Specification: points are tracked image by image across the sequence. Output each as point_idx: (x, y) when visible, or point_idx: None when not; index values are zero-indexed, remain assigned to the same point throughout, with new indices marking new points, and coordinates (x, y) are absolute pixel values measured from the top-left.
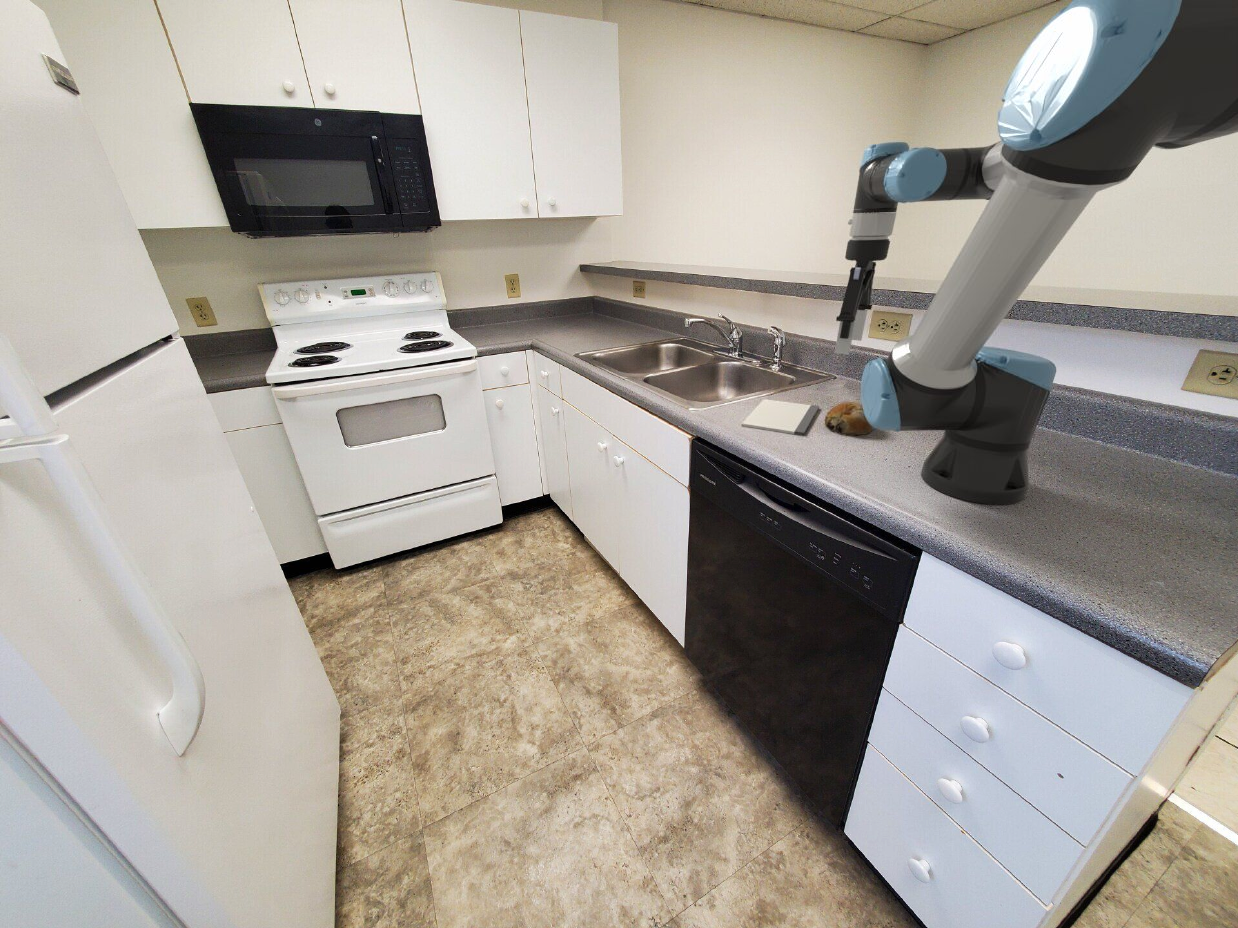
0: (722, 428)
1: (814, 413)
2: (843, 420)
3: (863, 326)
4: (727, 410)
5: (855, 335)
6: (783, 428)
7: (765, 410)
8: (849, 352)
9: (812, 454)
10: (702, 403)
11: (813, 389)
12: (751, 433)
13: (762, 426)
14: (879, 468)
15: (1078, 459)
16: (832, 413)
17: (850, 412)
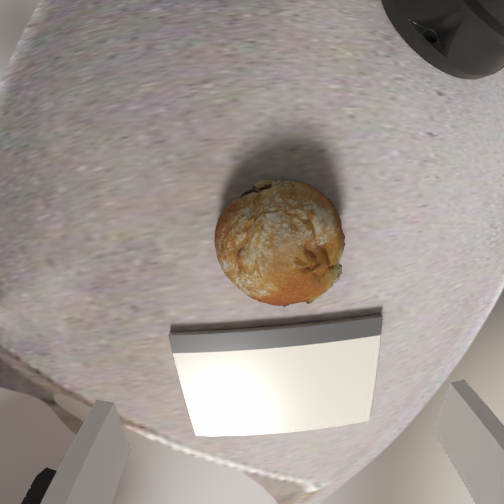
0: (388, 430)
1: (235, 333)
2: (340, 255)
3: (84, 463)
4: (291, 459)
5: (114, 445)
6: (369, 358)
7: (270, 418)
8: (454, 387)
9: (460, 268)
10: (274, 490)
11: (51, 361)
12: (398, 390)
13: (372, 390)
14: (471, 145)
15: None
16: (320, 292)
17: (319, 249)
